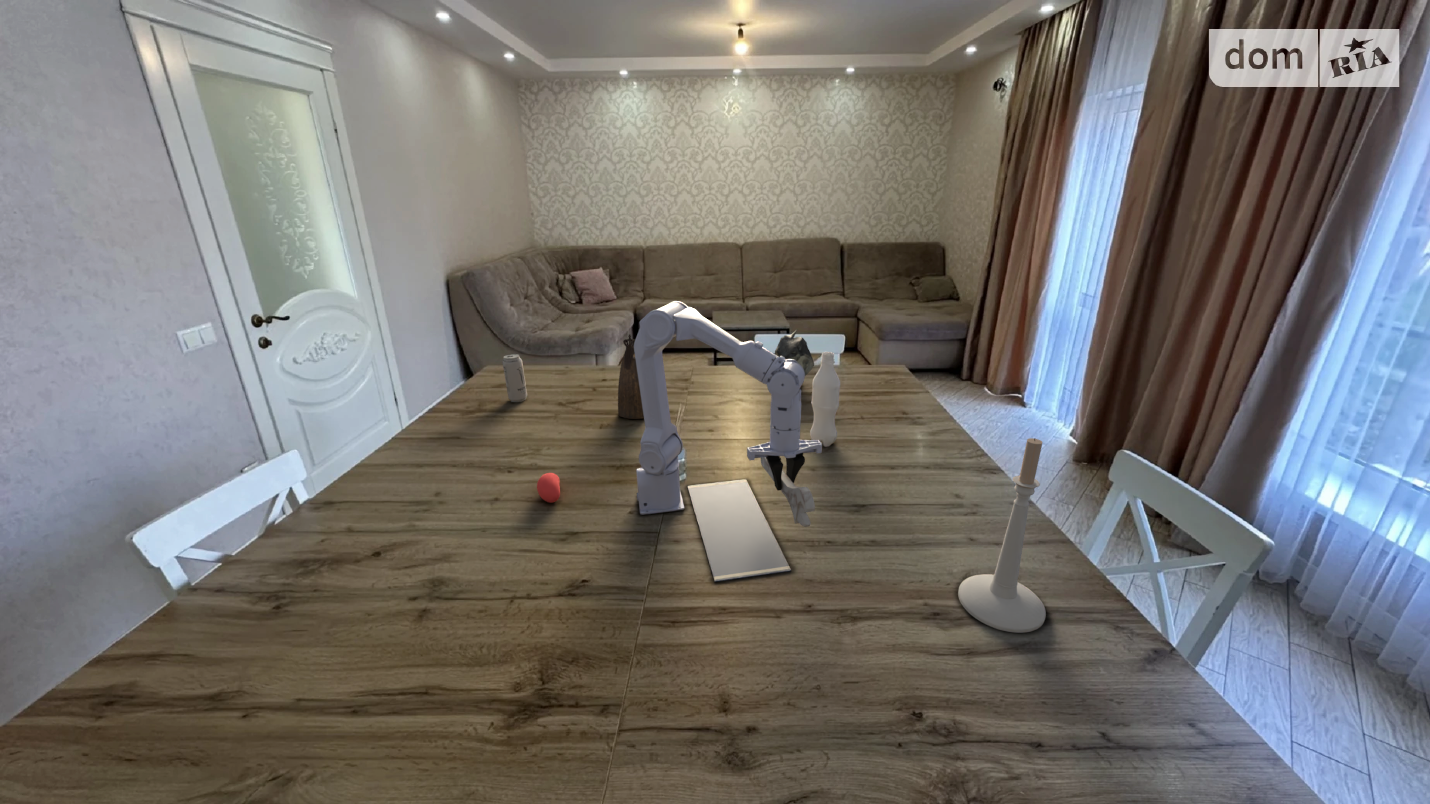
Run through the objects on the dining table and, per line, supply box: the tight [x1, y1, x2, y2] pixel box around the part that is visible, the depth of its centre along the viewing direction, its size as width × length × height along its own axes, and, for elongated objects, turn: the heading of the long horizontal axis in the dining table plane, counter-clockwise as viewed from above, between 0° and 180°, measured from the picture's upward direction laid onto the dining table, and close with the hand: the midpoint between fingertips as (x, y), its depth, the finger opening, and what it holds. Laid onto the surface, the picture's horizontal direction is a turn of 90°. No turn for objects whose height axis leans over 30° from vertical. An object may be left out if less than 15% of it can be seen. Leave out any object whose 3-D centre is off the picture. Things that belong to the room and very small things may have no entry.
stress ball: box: [536, 472, 561, 504], centre depth 124 cm, size 5×9×6 cm, turn 4°
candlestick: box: [957, 437, 1047, 634], centre depth 85 cm, size 13×13×30 cm
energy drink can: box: [502, 353, 528, 403], centre depth 180 cm, size 6×6×15 cm
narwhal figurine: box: [774, 329, 815, 388], centre depth 189 cm, size 14×15×18 cm
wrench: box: [760, 457, 816, 528], centre depth 109 cm, size 8×2×30 cm
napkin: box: [687, 478, 792, 583], centre depth 113 cm, size 14×34×1 cm, turn 11°
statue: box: [617, 334, 644, 420], centre depth 163 cm, size 9×8×25 cm
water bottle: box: [809, 351, 841, 448], centre depth 144 cm, size 7×7×25 cm
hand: (783, 487), depth 109 cm, fingers closed on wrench, 2 cm apart
